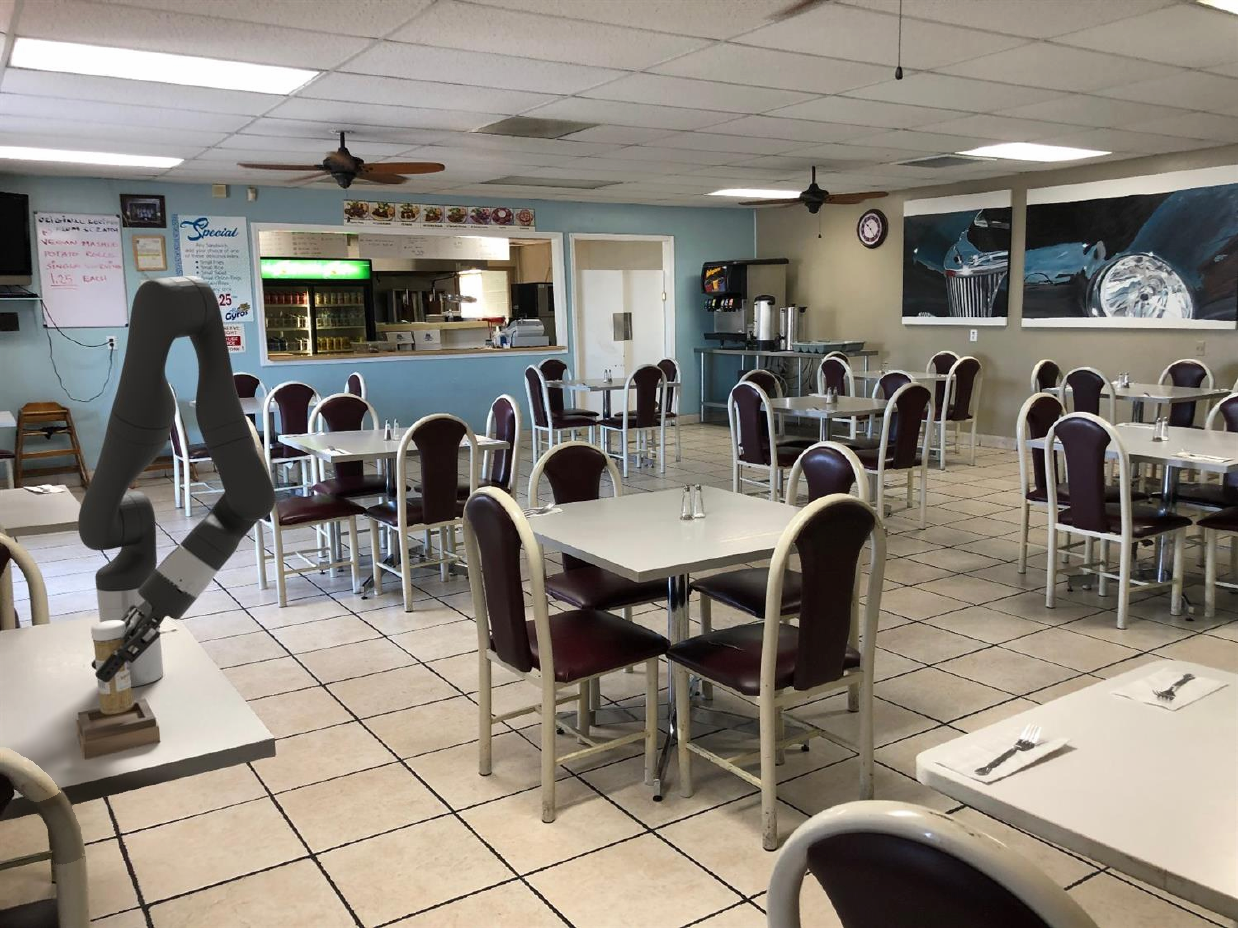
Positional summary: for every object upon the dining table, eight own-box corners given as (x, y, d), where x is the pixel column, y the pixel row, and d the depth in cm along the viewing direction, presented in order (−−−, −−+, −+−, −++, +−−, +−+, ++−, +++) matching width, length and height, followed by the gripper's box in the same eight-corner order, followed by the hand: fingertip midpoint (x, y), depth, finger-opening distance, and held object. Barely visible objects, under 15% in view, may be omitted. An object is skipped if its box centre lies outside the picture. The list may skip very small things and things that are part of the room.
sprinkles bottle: (135, 710, 147) (126, 624, 145) (101, 718, 144) (92, 630, 142) (131, 701, 151) (122, 617, 149) (98, 708, 148) (89, 622, 146)
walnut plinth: (77, 735, 149) (75, 712, 149) (148, 719, 155) (146, 697, 154) (85, 759, 141) (82, 735, 141) (160, 741, 147) (158, 718, 146)
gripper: (150, 558, 154) (71, 648, 149) (166, 577, 143) (81, 675, 138) (189, 585, 158) (113, 673, 153) (208, 606, 146) (126, 702, 141)
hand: (98, 673), depth 145 cm, fingers closed on sprinkles bottle, 4 cm apart
